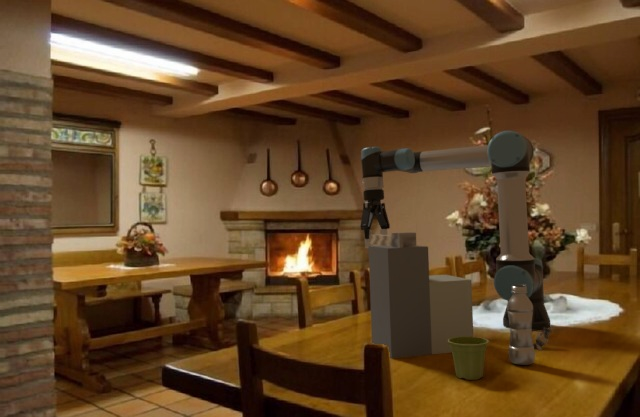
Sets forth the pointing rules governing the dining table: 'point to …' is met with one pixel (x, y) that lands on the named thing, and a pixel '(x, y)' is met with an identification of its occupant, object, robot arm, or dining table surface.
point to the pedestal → (416, 303)
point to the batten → (394, 240)
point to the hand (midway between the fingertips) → (377, 247)
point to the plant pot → (468, 356)
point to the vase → (542, 338)
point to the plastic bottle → (520, 327)
